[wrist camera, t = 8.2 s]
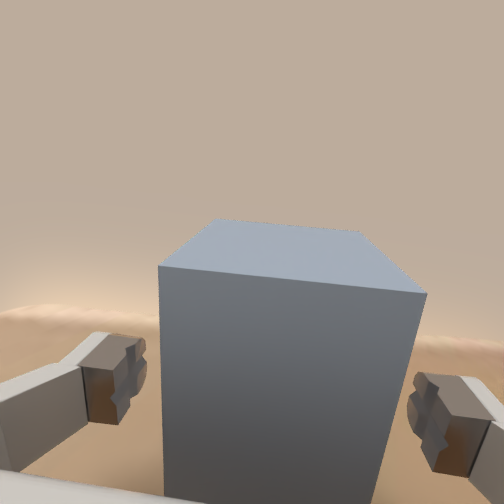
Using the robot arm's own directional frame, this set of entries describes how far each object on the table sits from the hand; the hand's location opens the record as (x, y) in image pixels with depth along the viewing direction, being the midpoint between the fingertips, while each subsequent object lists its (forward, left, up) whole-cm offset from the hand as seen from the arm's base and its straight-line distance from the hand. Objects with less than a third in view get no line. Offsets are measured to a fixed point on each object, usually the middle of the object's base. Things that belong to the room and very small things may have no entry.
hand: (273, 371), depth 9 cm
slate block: (0, 0, -6) cm, 6 cm away
